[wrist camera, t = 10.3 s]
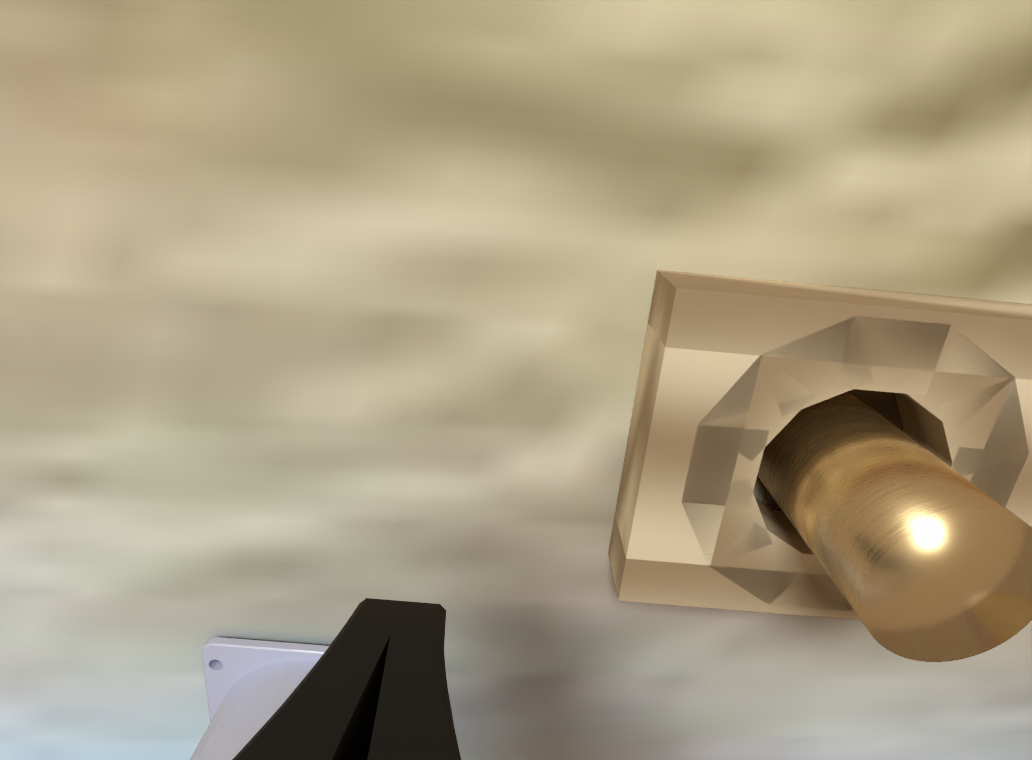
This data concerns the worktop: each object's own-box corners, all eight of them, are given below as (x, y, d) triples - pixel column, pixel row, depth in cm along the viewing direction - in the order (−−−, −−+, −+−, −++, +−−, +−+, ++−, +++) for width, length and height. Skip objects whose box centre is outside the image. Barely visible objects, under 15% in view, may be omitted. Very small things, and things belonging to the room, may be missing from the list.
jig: (943, 580, 21) (991, 630, 19) (608, 552, 21) (618, 600, 19) (1058, 307, 18) (1134, 329, 16) (657, 270, 18) (676, 288, 15)
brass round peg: (855, 501, 20) (1013, 668, 14) (738, 493, 20) (840, 655, 14) (891, 392, 19) (1085, 520, 12) (765, 382, 19) (894, 505, 12)
